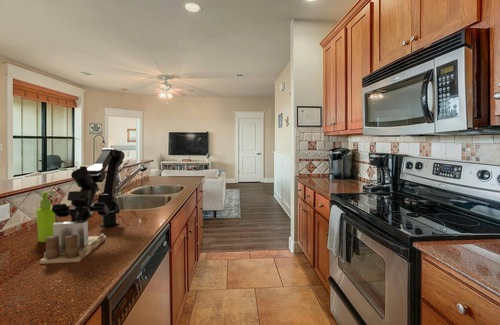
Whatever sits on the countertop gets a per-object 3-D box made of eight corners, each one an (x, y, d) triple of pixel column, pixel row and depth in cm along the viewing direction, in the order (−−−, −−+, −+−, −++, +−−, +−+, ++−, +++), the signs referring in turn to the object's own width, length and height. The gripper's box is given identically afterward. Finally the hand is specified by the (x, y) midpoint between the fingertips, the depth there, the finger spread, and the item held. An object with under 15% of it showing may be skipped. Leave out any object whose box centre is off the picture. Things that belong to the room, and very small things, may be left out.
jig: (75, 239, 108) (74, 220, 107) (106, 238, 110) (105, 219, 109) (40, 263, 86) (38, 239, 86) (78, 261, 88) (77, 237, 87)
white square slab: (59, 248, 95) (58, 221, 95) (88, 247, 96) (87, 220, 96) (54, 251, 92) (52, 224, 92) (84, 250, 94) (83, 223, 93)
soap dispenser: (62, 237, 111) (59, 191, 110) (44, 242, 105) (42, 193, 103) (52, 235, 113) (50, 190, 112) (35, 241, 107) (32, 193, 105)
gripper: (52, 183, 99) (34, 219, 88) (105, 182, 101) (92, 217, 91) (65, 199, 107) (50, 234, 97) (113, 198, 109) (103, 232, 99)
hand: (73, 229), depth 96 cm, fingers closed, pressing on white square slab
